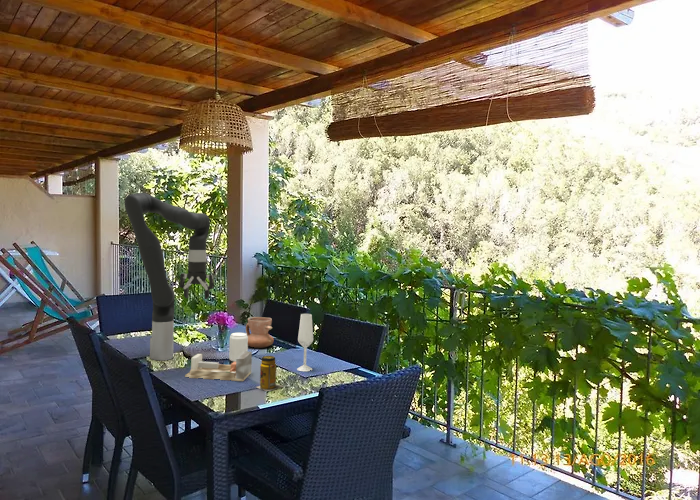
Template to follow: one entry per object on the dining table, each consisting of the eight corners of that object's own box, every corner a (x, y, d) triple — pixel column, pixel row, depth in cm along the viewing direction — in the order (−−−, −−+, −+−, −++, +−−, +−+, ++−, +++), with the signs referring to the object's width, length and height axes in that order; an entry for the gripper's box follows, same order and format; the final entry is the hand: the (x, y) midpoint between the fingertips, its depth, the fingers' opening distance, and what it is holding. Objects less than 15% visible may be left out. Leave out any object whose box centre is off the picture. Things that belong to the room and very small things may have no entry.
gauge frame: (184, 377, 220) (185, 355, 220) (195, 369, 232) (196, 348, 232) (243, 381, 218) (243, 359, 218) (251, 372, 230) (251, 351, 230)
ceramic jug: (281, 347, 276) (282, 319, 276) (259, 351, 265) (260, 322, 265) (257, 341, 288) (258, 314, 287) (235, 345, 277) (236, 317, 276)
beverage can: (243, 363, 244) (243, 336, 243) (226, 361, 246) (226, 335, 245) (250, 358, 252) (250, 333, 251) (233, 357, 254) (234, 331, 253)
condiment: (255, 387, 211) (255, 356, 211) (271, 382, 218) (272, 353, 217) (267, 391, 207) (268, 360, 206) (284, 387, 213) (285, 356, 212)
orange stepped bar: (228, 373, 219) (228, 366, 219) (233, 368, 227) (233, 361, 226) (232, 374, 219) (233, 366, 219) (238, 368, 226) (238, 361, 226)
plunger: (191, 372, 223) (191, 357, 222) (197, 367, 230) (197, 353, 229) (215, 373, 222) (215, 359, 221) (220, 369, 229) (220, 355, 228)
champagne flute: (305, 366, 243) (307, 312, 241) (315, 369, 238) (317, 315, 237) (293, 368, 238) (295, 314, 237) (303, 372, 233) (305, 316, 232)
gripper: (177, 260, 228) (176, 298, 229) (210, 261, 227) (209, 300, 228) (184, 259, 236) (183, 296, 237) (216, 260, 234) (215, 297, 236)
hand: (196, 298), depth 232 cm, fingers open, 8 cm apart
